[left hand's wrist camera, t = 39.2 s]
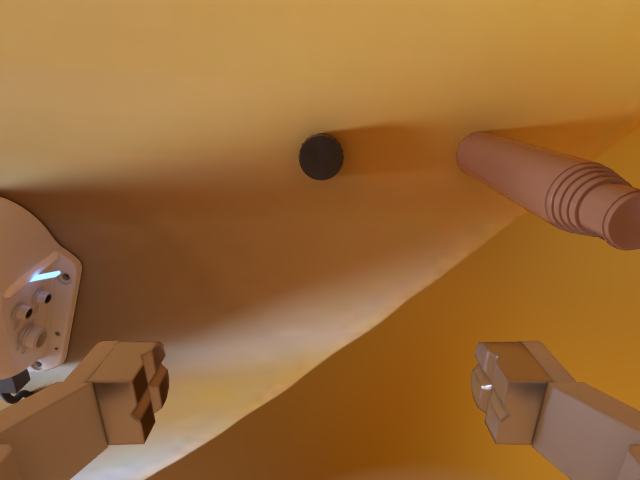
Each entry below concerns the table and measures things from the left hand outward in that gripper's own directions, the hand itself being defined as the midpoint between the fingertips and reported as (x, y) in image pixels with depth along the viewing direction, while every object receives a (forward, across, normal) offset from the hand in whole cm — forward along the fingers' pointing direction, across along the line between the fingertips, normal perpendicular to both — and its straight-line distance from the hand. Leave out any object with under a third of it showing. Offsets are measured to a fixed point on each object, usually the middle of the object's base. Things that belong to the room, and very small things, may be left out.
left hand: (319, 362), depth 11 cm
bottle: (+33, +16, 0) cm, 37 cm away
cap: (+31, 0, 0) cm, 31 cm away
